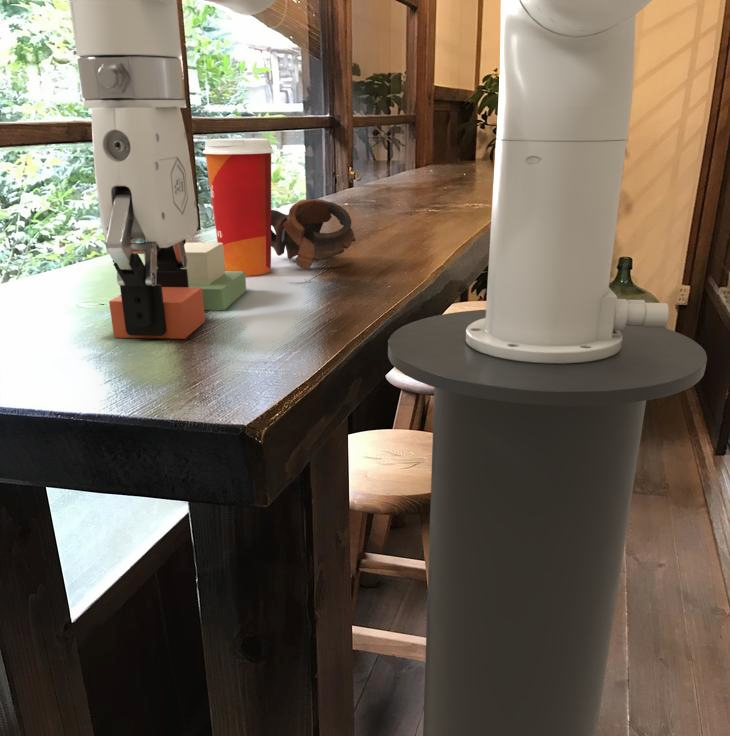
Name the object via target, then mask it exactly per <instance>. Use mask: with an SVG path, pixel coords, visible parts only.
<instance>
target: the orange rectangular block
mask: <svg viewBox="0 0 730 736" xmlns="http://www.w3.org/2000/svg"><path fill="white" fill-rule="evenodd" d="M162 294H163V303H164V312H165V321H166V333H165V334H164V335H162V336H141V335H129V334H127V332H126V328H125V320H124V313H123V305H122V298H121V294H120V295H118V296H116V297H114V298H113V299H111V300H109V301H108V304H109V311H110V318H111V325H112V326H111V327H112V332H113V337H114V338H116V339H159V340H161V339H162V340H163V339H164V340H165V339H166V340H168V339H170V340H185V339H187V338H188V337H189V336H190V335H192V334H193V332H195V331H196V330H197V329H198V328H199V327H200V326H202V325H203V324H204V323H205V322H206V317H205V316H206V314H205V310H204V303H203V292H202V288H201V287H162Z"/></svg>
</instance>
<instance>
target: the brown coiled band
mask: <svg viewBox="0 0 730 736" xmlns="http://www.w3.org/2000/svg"><path fill="white" fill-rule="evenodd" d="M333 216H334V217H335V218H336V219H337V220H338V221H339V224H340V225H341V226H342V227H341V228H340V229H338V230H336V231H333V232H321V230H322V228H323V225H324V223H328V222H330V220H331V219H332V217H333ZM271 227H272V228H273V229H274V231H273V229H271V248H273V250H274V252H275V253H276V255H277V256H278V257H279V256H282V255H284V254H285V250H286V255H287V259H288V260H291V259H293V258H294V257H296V258H295V262H296V266H297V267H300V268H301V269H304V270H305V271H308V270H309V269H310V268H311V267H312V265H313V263H314V262H319V261H322V260H325V259H328V258H331V257H334V256H335V257H336V256H338V255H341V254H344V253H345V250H346V249H349V248H350V246H351V244H352V243H353V242H356V236H355V233H354V231H353V228H352V218H351V216H350V214H349V212H348V211H347V210H346V209H345V208H343V207H342V206H340V205H339V204H337V203H335V202H333V201H328V200H325V199H320V198H307V199H302V200H299V201H297V202H295V203H294V204H293V205H291V207H290V208H289V211H288V214H286V213H285V214H284V213H282V212H281V211H279V210H276V209H271Z"/></svg>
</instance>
